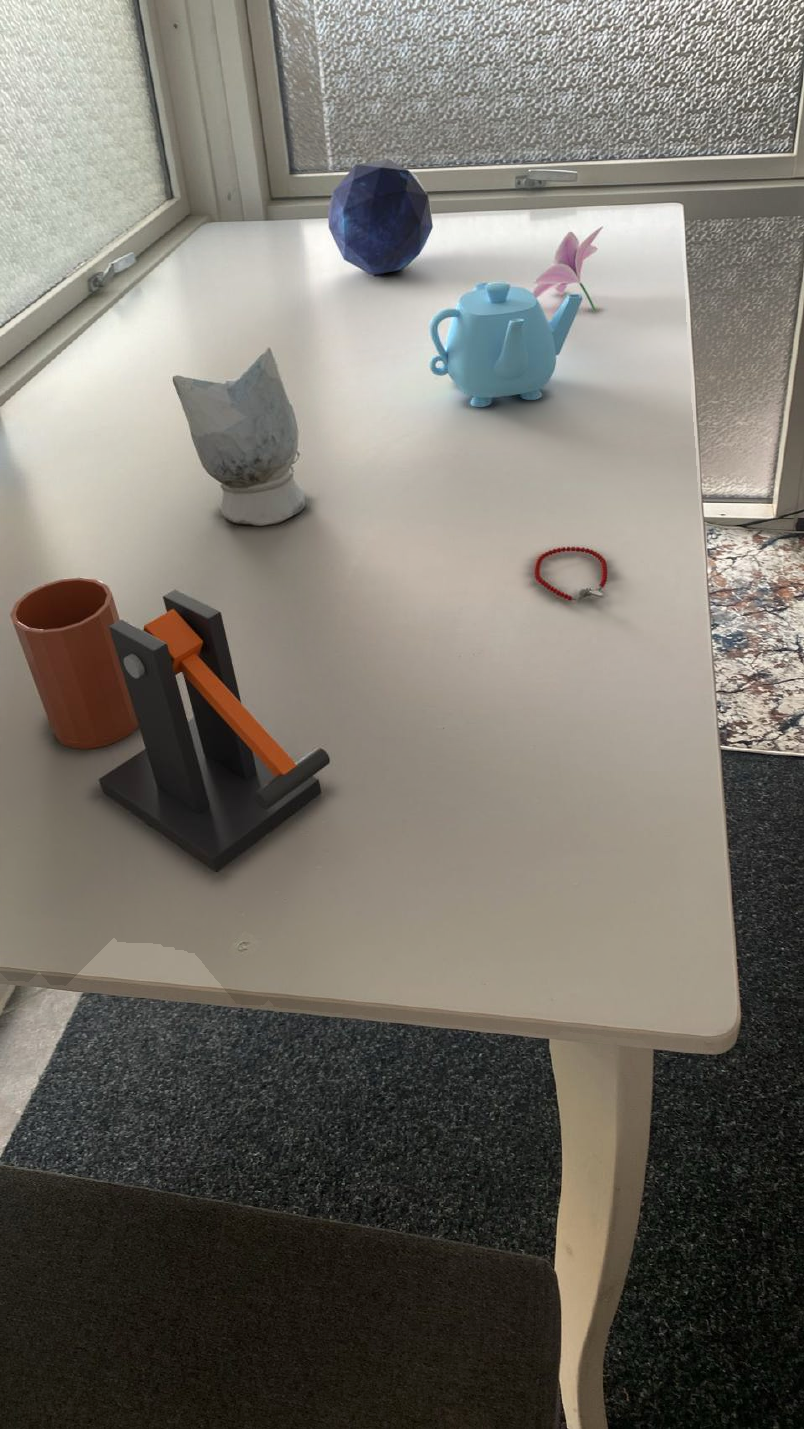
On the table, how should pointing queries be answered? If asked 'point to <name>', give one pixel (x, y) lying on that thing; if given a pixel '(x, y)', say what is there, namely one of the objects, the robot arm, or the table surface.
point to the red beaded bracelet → (583, 592)
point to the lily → (567, 265)
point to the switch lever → (234, 711)
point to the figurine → (247, 441)
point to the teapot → (501, 342)
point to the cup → (76, 661)
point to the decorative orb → (380, 217)
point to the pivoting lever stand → (192, 748)
